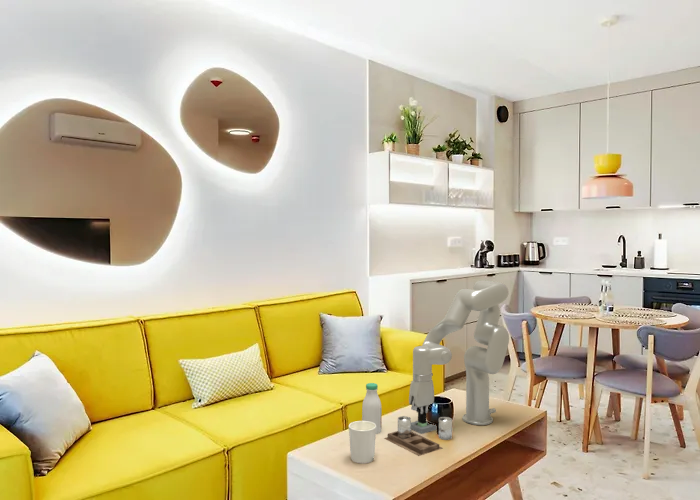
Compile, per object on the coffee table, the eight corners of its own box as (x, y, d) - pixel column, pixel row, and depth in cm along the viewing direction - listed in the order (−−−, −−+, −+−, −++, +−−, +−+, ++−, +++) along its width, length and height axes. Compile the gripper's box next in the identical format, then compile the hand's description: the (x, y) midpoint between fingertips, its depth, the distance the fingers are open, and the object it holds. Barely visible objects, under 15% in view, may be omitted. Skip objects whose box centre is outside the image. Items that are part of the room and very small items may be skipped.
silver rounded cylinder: (445, 435, 213) (445, 414, 213) (454, 440, 209) (454, 418, 208) (436, 438, 210) (436, 416, 210) (445, 443, 206) (445, 420, 206)
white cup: (349, 452, 198) (349, 420, 198) (376, 453, 198) (376, 420, 197) (348, 464, 188) (348, 430, 188) (376, 464, 188) (376, 430, 188)
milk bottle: (380, 438, 212) (379, 387, 212) (360, 436, 214) (360, 386, 213) (382, 430, 220) (382, 382, 219) (364, 429, 221) (363, 381, 221)
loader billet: (404, 435, 212) (404, 413, 211) (413, 439, 207) (413, 417, 207) (395, 438, 209) (395, 416, 208) (403, 442, 205) (403, 420, 204)
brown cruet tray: (407, 434, 216) (407, 427, 216) (443, 451, 199) (443, 443, 199) (383, 441, 209) (383, 434, 209) (418, 459, 192) (418, 451, 192)
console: (422, 426, 224) (423, 419, 224) (436, 432, 218) (436, 425, 218) (408, 430, 220) (408, 423, 220) (421, 436, 213) (421, 429, 213)
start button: (422, 429, 221) (422, 420, 221) (428, 432, 218) (428, 422, 218) (416, 431, 219) (416, 421, 219) (422, 433, 216) (422, 424, 216)
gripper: (429, 372, 225) (429, 416, 226) (402, 378, 217) (401, 423, 217) (442, 376, 219) (442, 421, 220) (414, 382, 211) (414, 429, 211)
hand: (422, 422), depth 219 cm, fingers closed
